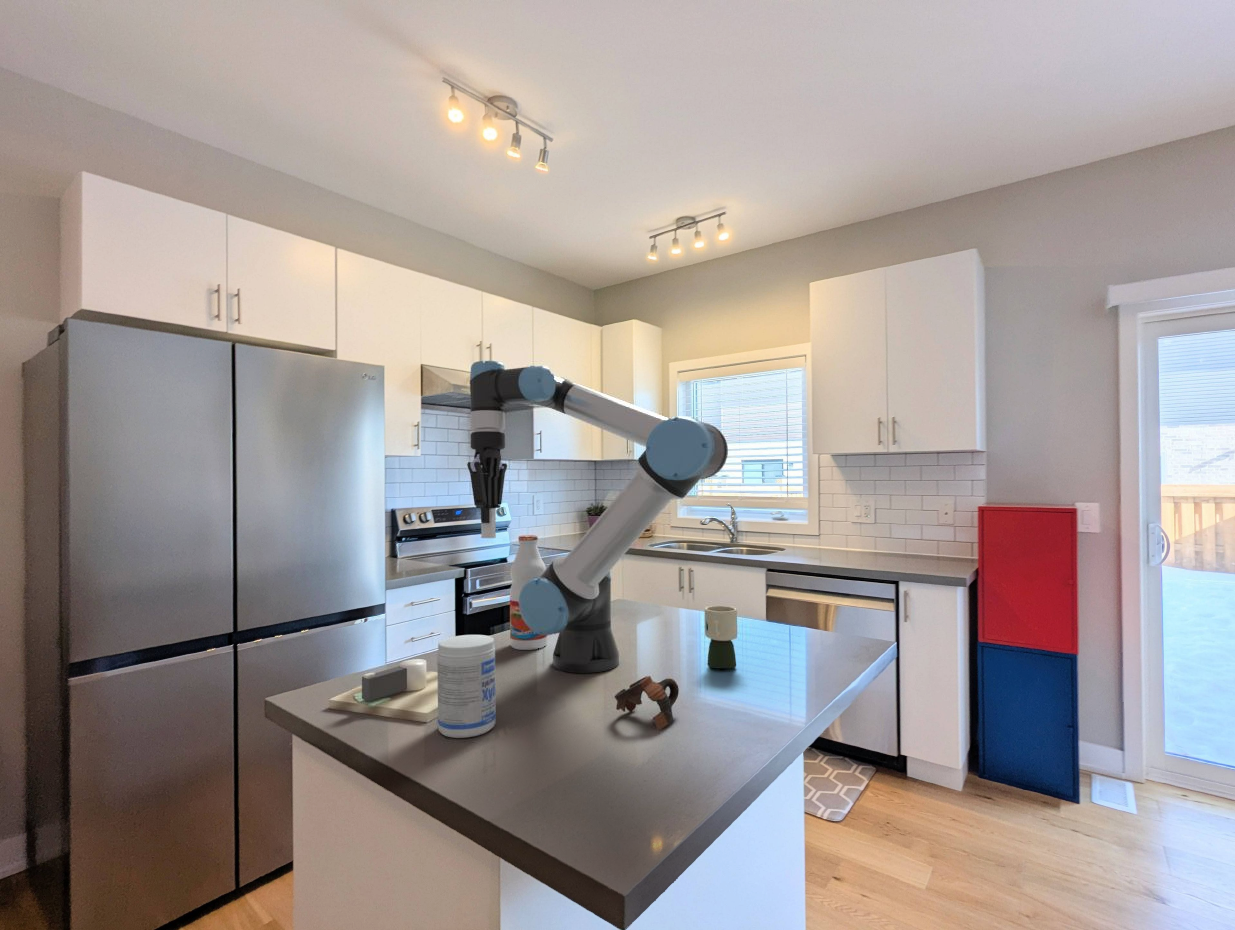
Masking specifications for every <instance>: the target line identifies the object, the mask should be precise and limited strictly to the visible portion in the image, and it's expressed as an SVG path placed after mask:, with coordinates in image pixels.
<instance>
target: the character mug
mask: <svg viewBox="0 0 1235 930" xmlns="http://www.w3.org/2000/svg"><path fill="white" fill-rule="evenodd" d="M704 635H705V637H706V638H708V639H710V641H709V646H708V653H707V667H709V668H712V669H719V670H720V671H721V670H722V669H733V668H736V667H737V657H736V652H735V645H734V641H733V640H735V639H737V638H738V609H737V608H736V607H734V606H731V605H730V606H727V605H710V606H706V607H705V608H704Z"/></svg>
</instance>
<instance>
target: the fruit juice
mask: <svg viewBox="0 0 1235 930" xmlns="http://www.w3.org/2000/svg"><path fill="white" fill-rule="evenodd" d="M538 539H539V537H538V535H535V534H526V535H519V536H518V539H517V541H518V543H519V545H518V549H517V552H516V554H515V558H514V560H513V562H512V564H511V566H510V569H509V571H510V572H509V573H510V577H511V581H512V583H511V586H510V589H509V630H510V633H509V635H510V636H509V638H510V639H509V641H510V646H511V648H513V649H515V650H520V651H532V650H538V648H539V649H542V648H544V646H545V647H546V646H547V644H548V635H542V634H538V633H536V632H534V631H533V630H531V629H530V628H529V627H528V626H527V625H526V623H525V622H524V620H523V619H522V616H521V614H520V610H519V609H520V607H519V595H520V592H521V589H522V588H523V586H524V585H525V584H526V583H527V582H529V581H530V580H531V579H533V578H536V577H540V576H541V575H542V574H543V573H544V571H545V570H546V569H547V567H546V564H545V562H544V561H543V559H542V556H541V553H540V550H539V547H538Z"/></svg>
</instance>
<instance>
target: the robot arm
mask: <svg viewBox="0 0 1235 930" xmlns="http://www.w3.org/2000/svg"><path fill="white" fill-rule="evenodd" d="M550 369H551V368H550V367H548V366H545V365H537V366H536V365H529V366H526V367H517V368H509V369H508V368H507V369H505V365H504V363H502V362H500V361H495V360H478V361H476V362H473V363H472V364H471V366H470V375H469V376H470V377H469V392H470V396H469V397H470V419H469V420H470V430H472V431H473V432H471V433H470V448H471V449H472V450H474V451H475V452H474V456H473V457H474V458H473V460H472V461H468V462H467V463H466V465H467V469H468V471H469V474H470V475H469V476H470V481H471V490H472V496H473V503H474V506H475V508H476V509H480V526H481V527H480V528H481V529H480V530H481V533H480V535H481V538H480V539H496V535H497V533H496V518H497V517H496V515H497V514H496V511H497V509H500V508H501V504H502V501H503V493H504V485H505V476H506V471H507V469H508V464H507V463H506V462H505V463H504V462H502V455H501V451H502V450H504V449H505V448H506V434H505V432H503V431H505V430H506V415H505V412H506V405H509V404H523V403H525V404H530V405H535V406H540V407H544V408H548V409H552V410H555V411H557V412H559V413H561V414H564V415H568V416H570V417H571V418H572V417H573V418H575V419H577V420H579V421H582V422H584V423H586V424H589V425H591V426H594V427H596V428H599V429H601V430H603V431H606V432H608V433H611V434H613V435H616V436H617V437H621V438H622V439H623V438H624V439H625V440H628V441H630V442H632V443H636V444H638V445H640V446H643V447H645V449H644V451H643V453H642V454H641V455H640V456H639V457H638V458H637V461H636V463H637V472H636V473H635V474H634V475H633V477H632V478H631V479H630V480H629V481H628V482H627V484H626V485H625V486H624V487H623V489H622V490H621V491H620V492H619V493H618V494H617V495H616V496H615V498H614V499H613V501H612V502H611V503H610V504H609V505H608V506H607V508H606V509H605V510H604V511H603V512H602V514H601V515H600V516H599V517H598V518H597V519H596V521H595V522H594V523H593V524H592V526H591V527H590V528H588V530H587V531H586V532H585V534H584V535H583V536H582V537H581V538H580V540H579V541H578V542H577V543H576V544H575V546H574V547H573V548H572V549H571V551H570V552H568V554H567V555H566V556H565V555H564V556H562V555H561V556H557V557H556V558H554V560H552V562H551V563H550V564H549V566H548V567H546V570H545V571H544V573H543V574H542V575H541V576H540V577H536V578H533V579H531V580H530V581H529V582H527V583H526V584H525V585H524V586H523V588H522V589H521V592H520V595H519V607H520V609H519V610H520V614H521V616H522V619H523V620H524V622H525V623H526V625H527V626H528V627H529V628H530V629H531V630H533V631H534V632H536V633H538V634H542V635H547V636H550V635H556V634H558V637H557V640H556V643H555V647H554V650H553V653H552V666H553V667H554V669H556V670H559V671H563V672H566V673H573V674H593V673H600V672H605V671H608V670H611V669H614V668H616V667H617V666H618V665H619V664H620V654H619V653H620V651H619V649H618V647H617V643H616V640H615V637H614V633H613V629H612V612H611V611H612V606H611V605H612V601H611V600H612V598H611V594H612V592H611V591H612V589H611V588H612V587H611V586H612V584H611V582H612V577H611V570H612V569H613V568H614V567H615V565H616V564H617V563H618V562H619V561H620V560H621V558H622V557H623V556H624V555H625V554H626V553H627V551H628V550H629V549H631V547H632V546H633V545H634V544H635V542H636V541H637V540H638V539H639V538H640V537H641V535H642V534H643V533H644V532H645V531H646V529H648V528H649V526H650V525H651V524H652V523H653V522H654V520H656V518H657V517H658V516H659V515H660V514H661V513H662V512H663V510H664V509H665V508H666V506H668V505H669V503H670V502H671V501H673V500H683V499H684V498H685V497H686V496H687V495H688V494H689V492H690V491H692V489H693V488H694V487H695V486H696V485H697V484H698V482H699V481H701V480H705V479H708V478H709V479H710V478H712V477H714V476H715V475H716V474H718V473H719V472H720V471H721V470H722V469H723V467H724V465H725V464H726V461H727V458H728V454H729V449H728V442H727V440H726V438H725V436H724V434H723V433H722V432H721V430H719V429H718V428H717V427H716V426H714V425H712V424H709V423H706V422H704V421H700V420H699V419H697V418H694V417H690V416H673V417H670V418H668V417H665V416H662V415H659V414H658V413H655V412H652V411H649V410H646V409H644V408H642V407H638V406H636V405H634V404H630V403H628V402H626V401H623V400H620V399H618V398H615V397H612V396H610V395H607V394H604V393H602V392H599V391H597V390H594V389H592V388H588V387H586V386H583V385H581V384H579V383H575V382H572V381H571V380H569V379H567V378H564V377H562V376H561V377H559V376H556V375H554V373H553V372H552V371H551V370H550Z"/></svg>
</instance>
